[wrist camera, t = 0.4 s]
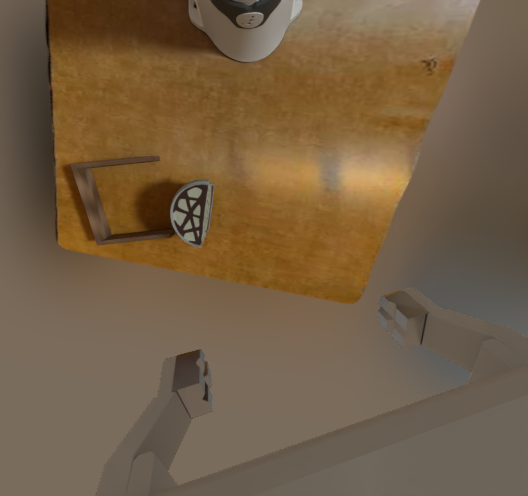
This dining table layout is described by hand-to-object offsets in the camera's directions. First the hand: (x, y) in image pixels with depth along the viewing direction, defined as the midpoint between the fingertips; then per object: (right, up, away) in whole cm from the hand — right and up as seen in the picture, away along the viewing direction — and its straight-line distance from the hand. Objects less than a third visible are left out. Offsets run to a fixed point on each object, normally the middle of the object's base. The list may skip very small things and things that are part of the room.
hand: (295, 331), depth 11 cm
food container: (-15, +13, +41) cm, 46 cm away
